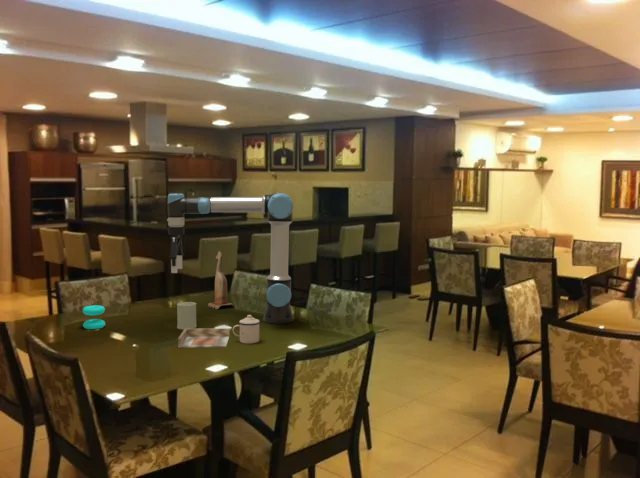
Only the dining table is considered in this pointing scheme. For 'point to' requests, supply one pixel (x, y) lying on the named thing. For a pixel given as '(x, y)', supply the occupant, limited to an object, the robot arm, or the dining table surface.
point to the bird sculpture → (220, 286)
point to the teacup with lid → (248, 330)
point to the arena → (203, 338)
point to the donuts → (94, 322)
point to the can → (186, 315)
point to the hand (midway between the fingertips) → (177, 270)
